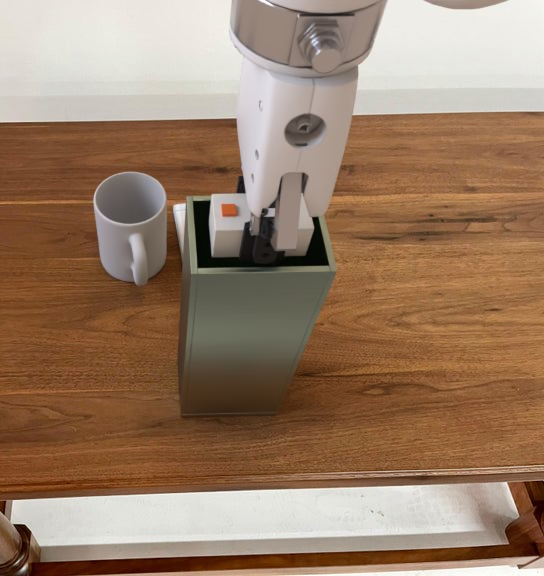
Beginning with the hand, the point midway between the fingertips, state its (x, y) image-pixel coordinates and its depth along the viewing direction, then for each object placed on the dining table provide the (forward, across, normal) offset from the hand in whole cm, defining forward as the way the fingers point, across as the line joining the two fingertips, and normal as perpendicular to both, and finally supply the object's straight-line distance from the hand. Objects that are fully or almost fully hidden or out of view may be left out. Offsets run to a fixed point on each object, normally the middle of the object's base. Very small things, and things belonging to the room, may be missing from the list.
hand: (257, 235), depth 45 cm
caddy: (+26, 0, 0) cm, 26 cm away
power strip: (0, 0, 0) cm, 0 cm away
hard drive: (+27, +20, 0) cm, 33 cm away
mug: (+27, +17, +10) cm, 33 cm away
